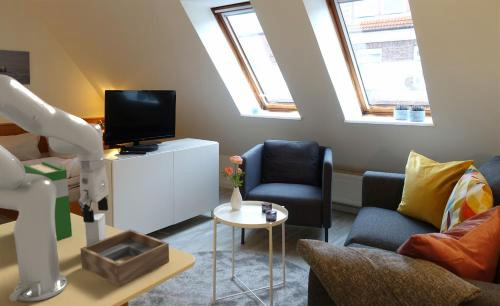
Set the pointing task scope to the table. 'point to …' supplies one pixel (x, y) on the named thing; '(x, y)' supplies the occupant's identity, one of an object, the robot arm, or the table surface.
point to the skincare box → (96, 229)
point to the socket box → (118, 246)
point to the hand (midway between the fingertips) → (96, 216)
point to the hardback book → (62, 196)
